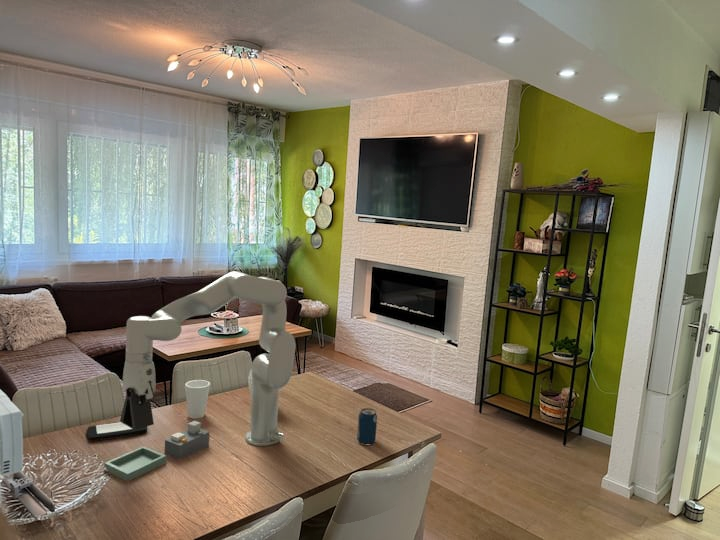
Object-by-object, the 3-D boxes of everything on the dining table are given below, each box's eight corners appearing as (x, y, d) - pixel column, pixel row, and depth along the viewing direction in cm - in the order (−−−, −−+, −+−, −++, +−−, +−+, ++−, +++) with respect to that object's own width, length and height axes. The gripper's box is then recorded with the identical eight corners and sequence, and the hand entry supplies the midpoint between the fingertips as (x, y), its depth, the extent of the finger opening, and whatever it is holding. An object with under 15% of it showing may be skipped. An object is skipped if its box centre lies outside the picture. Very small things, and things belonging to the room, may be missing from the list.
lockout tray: (166, 462, 157) (166, 455, 157) (127, 481, 145) (127, 474, 145) (143, 452, 162) (143, 446, 162) (104, 470, 150) (104, 462, 150)
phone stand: (119, 421, 152) (121, 384, 151) (138, 416, 157) (139, 380, 156) (135, 430, 147) (136, 392, 146) (153, 424, 152) (155, 387, 151)
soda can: (378, 442, 183) (381, 412, 182) (366, 448, 178) (369, 416, 177) (365, 436, 188) (367, 406, 186) (352, 441, 183) (355, 410, 181)
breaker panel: (208, 445, 171) (209, 430, 170) (179, 460, 159) (179, 443, 159) (194, 439, 174) (195, 424, 174) (164, 453, 163) (165, 438, 162)
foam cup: (213, 415, 196) (215, 383, 195) (194, 422, 189) (196, 389, 187) (197, 408, 201) (199, 378, 200) (179, 415, 194) (180, 383, 192)
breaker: (200, 432, 170) (200, 422, 170) (193, 435, 168) (194, 425, 167) (194, 430, 172) (194, 420, 171) (187, 433, 169) (187, 423, 169)
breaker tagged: (184, 444, 164) (184, 434, 164) (177, 447, 162) (177, 437, 161) (178, 442, 166) (178, 432, 165) (170, 445, 163) (171, 435, 163)
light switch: (144, 415, 187) (149, 427, 175) (143, 423, 187) (149, 435, 176) (85, 423, 177) (87, 436, 165) (85, 431, 177) (86, 444, 165)
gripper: (166, 359, 150) (164, 416, 152) (132, 349, 157) (131, 404, 159) (146, 364, 143) (143, 424, 145) (111, 353, 150) (110, 411, 152)
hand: (137, 413), depth 152 cm, fingers closed on phone stand
